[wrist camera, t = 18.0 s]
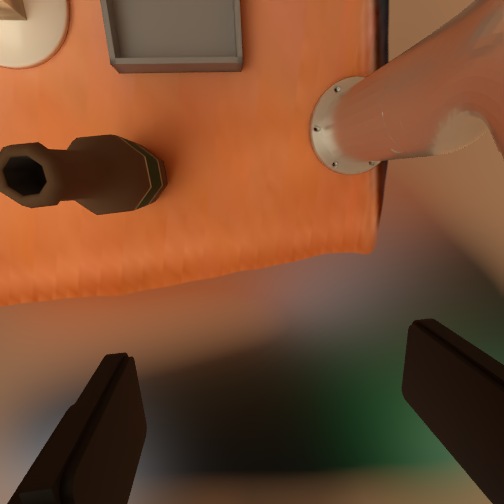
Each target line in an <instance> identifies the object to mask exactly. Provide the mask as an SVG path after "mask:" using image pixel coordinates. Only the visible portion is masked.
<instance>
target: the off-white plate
mask: <svg viewBox="0 0 504 504" xmlns="http://www.w3.org/2000/svg"><path fill="white" fill-rule="evenodd" d="M23 3H24V8H25V12H26V17H27V20H0V66H1V67H4V68H10V69H28V68H32V67H36V66H38V65H41V64H43V63H45V62H46V61H48V60H49V59H51V58H52V57H53V56H54V55H55V54H56V53H57V52H58V50H59V49H60V47H61V46H62V44H63V42H64V40H65V38H66V35H67V31H68V27H69V19H70V13H69V2H68V0H23Z"/></svg>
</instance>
